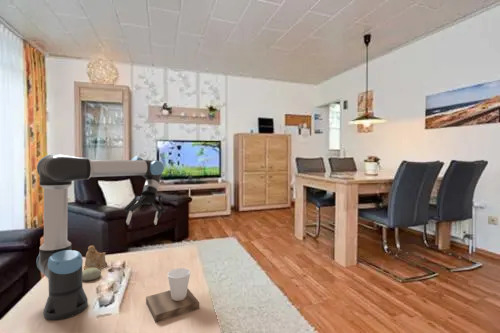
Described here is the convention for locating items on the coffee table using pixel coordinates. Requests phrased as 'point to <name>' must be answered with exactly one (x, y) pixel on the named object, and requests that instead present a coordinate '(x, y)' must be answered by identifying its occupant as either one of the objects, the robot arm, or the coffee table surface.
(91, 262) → the statue
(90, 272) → the sea urchin shell
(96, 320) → the coffee table surface
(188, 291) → the wooden block
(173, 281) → the cup
